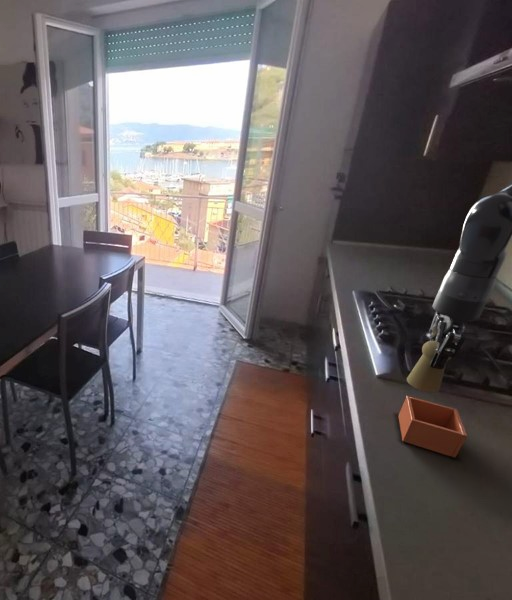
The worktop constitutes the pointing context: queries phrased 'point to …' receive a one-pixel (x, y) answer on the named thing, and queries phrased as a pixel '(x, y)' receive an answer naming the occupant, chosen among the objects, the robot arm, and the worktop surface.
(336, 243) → the worktop surface
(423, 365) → the cork
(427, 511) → the worktop surface
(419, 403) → the box
